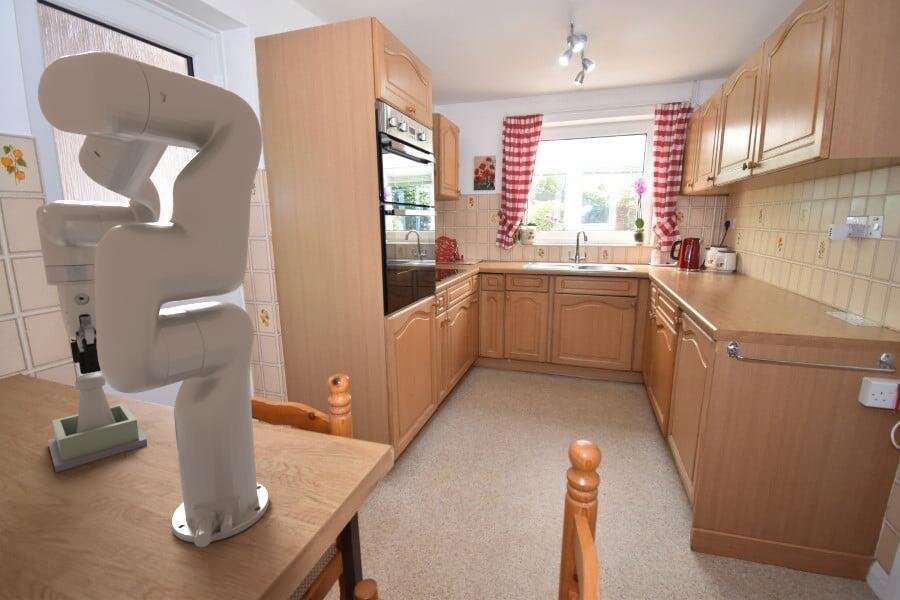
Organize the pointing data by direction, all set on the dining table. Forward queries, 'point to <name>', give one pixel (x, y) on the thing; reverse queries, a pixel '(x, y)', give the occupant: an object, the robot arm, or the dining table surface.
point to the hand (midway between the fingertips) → (88, 366)
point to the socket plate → (94, 439)
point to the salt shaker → (92, 403)
